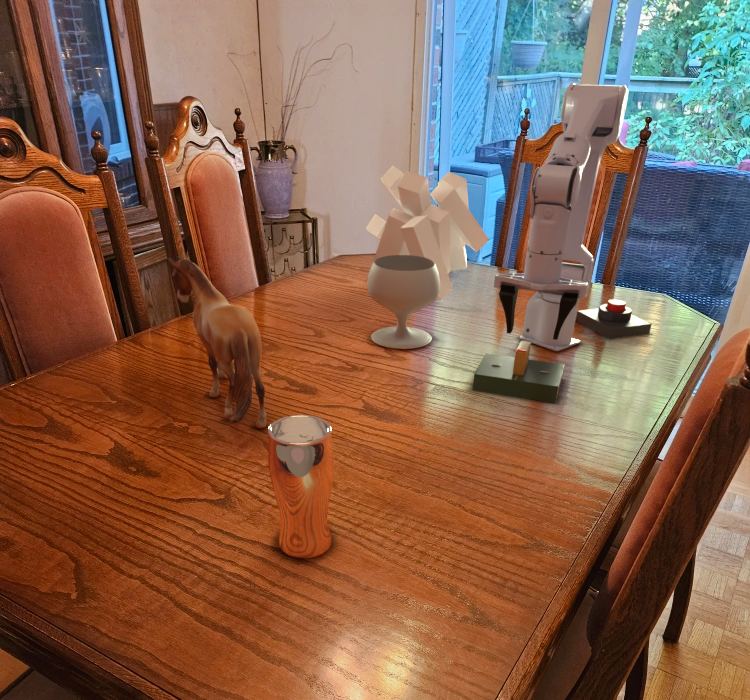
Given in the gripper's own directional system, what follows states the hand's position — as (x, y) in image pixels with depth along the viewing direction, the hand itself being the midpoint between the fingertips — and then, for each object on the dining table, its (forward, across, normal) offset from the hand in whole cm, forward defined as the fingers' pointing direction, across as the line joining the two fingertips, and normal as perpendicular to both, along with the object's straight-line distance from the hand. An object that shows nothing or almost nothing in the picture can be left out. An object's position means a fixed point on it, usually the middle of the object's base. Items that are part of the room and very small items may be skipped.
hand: (532, 334), depth 111 cm
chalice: (+9, -27, +13) cm, 31 cm away
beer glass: (+9, -17, -55) cm, 58 cm away
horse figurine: (+9, -45, -29) cm, 54 cm away
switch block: (+9, +13, +37) cm, 40 cm away
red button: (+6, +13, +37) cm, 40 cm away
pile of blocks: (+10, -33, +52) cm, 63 cm away
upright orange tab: (+6, -1, -1) cm, 6 cm away
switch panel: (+9, -1, -1) cm, 9 cm away
